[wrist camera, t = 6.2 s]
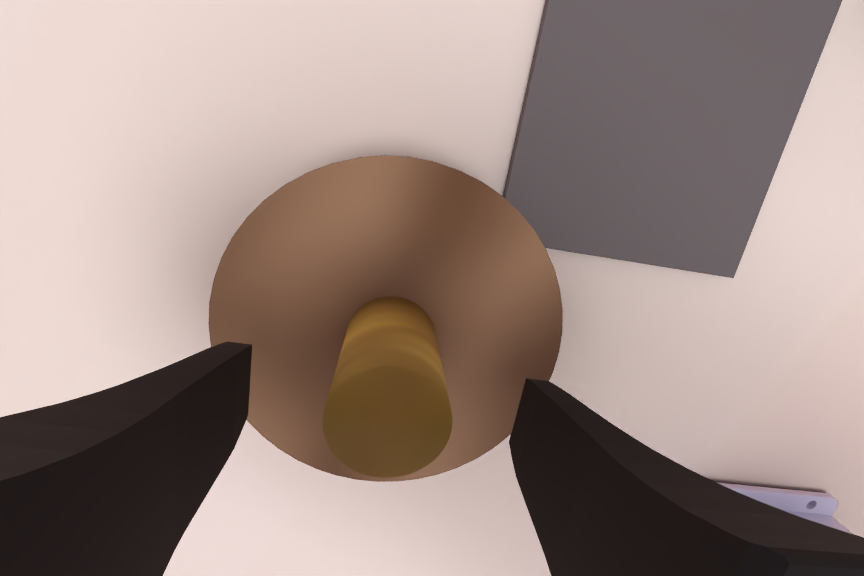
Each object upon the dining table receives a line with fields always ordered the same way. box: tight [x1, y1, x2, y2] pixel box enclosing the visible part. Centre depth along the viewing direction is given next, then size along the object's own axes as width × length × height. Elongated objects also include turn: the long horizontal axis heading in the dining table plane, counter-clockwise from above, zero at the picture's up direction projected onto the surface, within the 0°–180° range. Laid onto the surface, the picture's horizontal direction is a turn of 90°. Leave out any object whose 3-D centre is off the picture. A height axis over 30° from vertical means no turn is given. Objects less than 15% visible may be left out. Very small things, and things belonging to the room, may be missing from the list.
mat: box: [503, 0, 842, 278], centre depth 16 cm, size 10×10×1 cm
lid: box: [209, 155, 562, 481], centre depth 12 cm, size 11×11×5 cm
